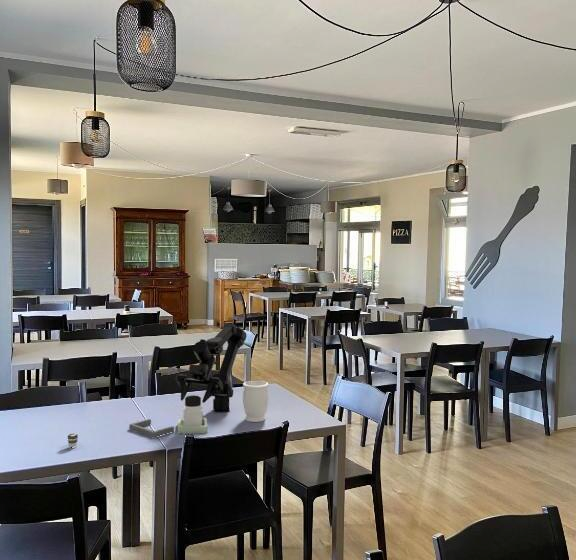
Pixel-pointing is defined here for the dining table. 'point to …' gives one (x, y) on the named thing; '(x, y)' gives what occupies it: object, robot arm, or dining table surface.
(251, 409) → the jar
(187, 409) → the medicine bottle
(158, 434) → the holder
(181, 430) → the tray
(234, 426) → the dining table surface
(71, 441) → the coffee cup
